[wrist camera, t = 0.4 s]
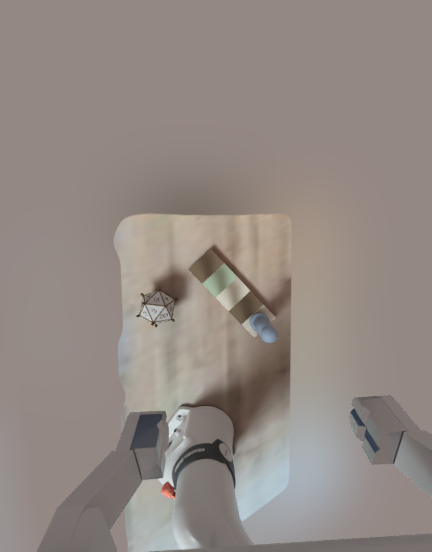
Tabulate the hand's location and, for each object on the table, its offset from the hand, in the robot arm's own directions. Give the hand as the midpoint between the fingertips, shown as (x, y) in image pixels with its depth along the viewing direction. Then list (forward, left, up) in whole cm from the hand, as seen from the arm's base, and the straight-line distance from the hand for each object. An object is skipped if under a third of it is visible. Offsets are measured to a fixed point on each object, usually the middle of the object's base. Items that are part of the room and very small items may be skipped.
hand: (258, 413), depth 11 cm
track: (+1, -5, -48) cm, 49 cm away
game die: (-13, +5, -49) cm, 51 cm away
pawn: (+1, -14, -47) cm, 49 cm away
